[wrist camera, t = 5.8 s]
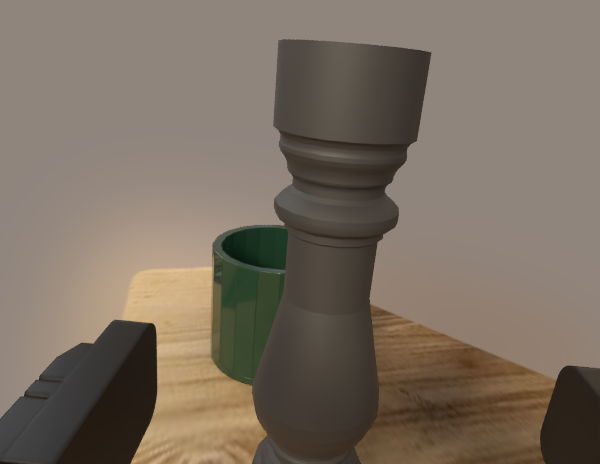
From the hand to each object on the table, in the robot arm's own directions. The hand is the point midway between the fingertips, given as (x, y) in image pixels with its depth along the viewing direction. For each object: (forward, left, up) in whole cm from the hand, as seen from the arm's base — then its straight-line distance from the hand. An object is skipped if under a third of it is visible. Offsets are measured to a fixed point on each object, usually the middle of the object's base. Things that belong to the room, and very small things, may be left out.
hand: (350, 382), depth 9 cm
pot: (+13, -26, -18) cm, 34 cm away
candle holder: (+4, -11, -19) cm, 22 cm away
